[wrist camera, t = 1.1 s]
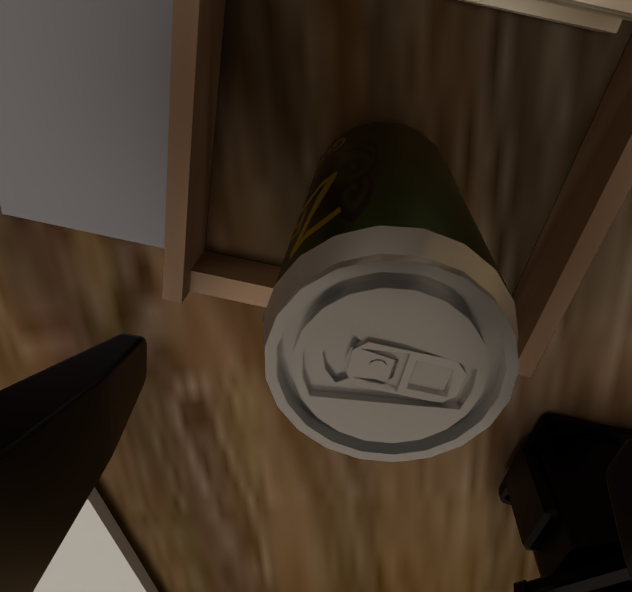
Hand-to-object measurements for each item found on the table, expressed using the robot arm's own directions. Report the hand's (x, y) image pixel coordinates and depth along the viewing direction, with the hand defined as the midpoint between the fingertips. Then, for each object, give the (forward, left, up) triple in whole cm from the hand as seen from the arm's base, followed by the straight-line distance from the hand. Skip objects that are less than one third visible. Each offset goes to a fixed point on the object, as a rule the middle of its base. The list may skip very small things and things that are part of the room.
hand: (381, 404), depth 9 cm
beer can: (0, 0, -13) cm, 13 cm away
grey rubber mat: (+12, -1, -13) cm, 17 cm away
